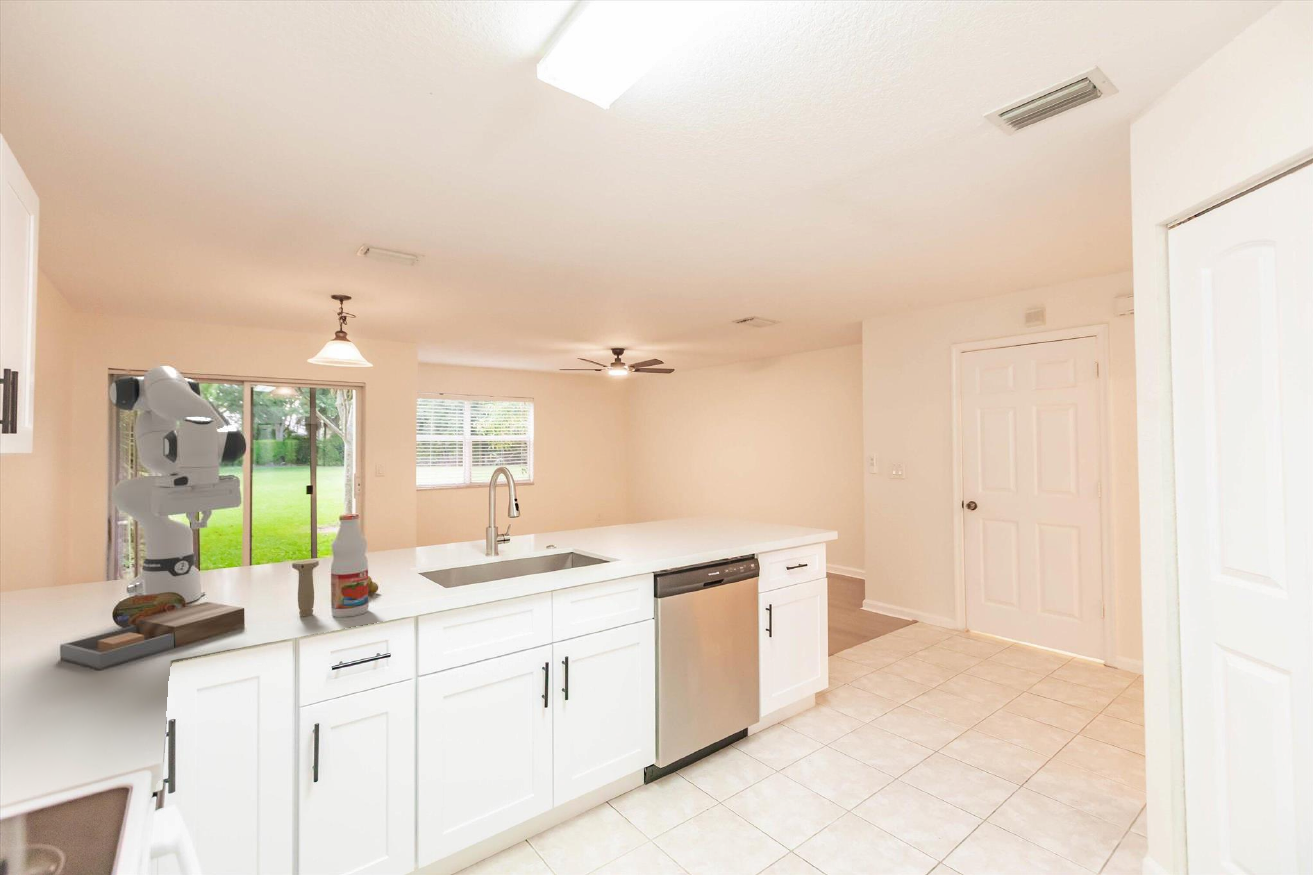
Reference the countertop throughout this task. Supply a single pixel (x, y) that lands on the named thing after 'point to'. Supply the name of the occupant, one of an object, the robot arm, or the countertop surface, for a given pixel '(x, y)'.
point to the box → (89, 656)
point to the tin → (145, 607)
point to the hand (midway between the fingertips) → (199, 528)
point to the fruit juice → (349, 569)
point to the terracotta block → (119, 641)
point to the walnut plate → (192, 622)
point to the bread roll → (371, 586)
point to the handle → (305, 585)
